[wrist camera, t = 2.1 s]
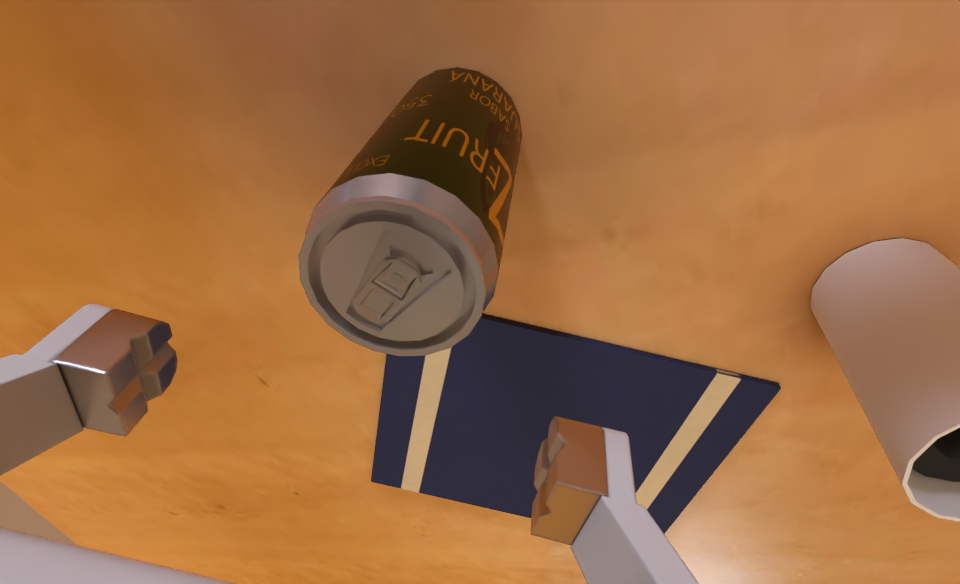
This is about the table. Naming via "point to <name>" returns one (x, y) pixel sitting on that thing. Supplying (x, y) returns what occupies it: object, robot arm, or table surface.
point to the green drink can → (418, 219)
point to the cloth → (538, 399)
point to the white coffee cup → (901, 358)
